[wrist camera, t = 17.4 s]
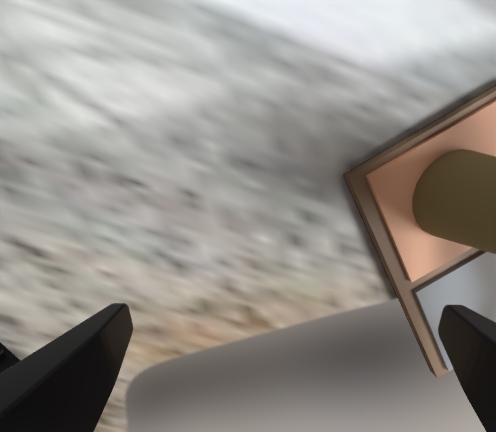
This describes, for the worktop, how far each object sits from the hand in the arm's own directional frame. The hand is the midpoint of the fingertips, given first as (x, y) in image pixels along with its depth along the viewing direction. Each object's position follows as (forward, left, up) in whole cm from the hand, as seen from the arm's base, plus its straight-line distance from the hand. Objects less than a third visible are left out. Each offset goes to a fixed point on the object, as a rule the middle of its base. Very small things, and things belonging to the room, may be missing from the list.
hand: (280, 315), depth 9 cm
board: (+13, -12, -11) cm, 21 cm away
